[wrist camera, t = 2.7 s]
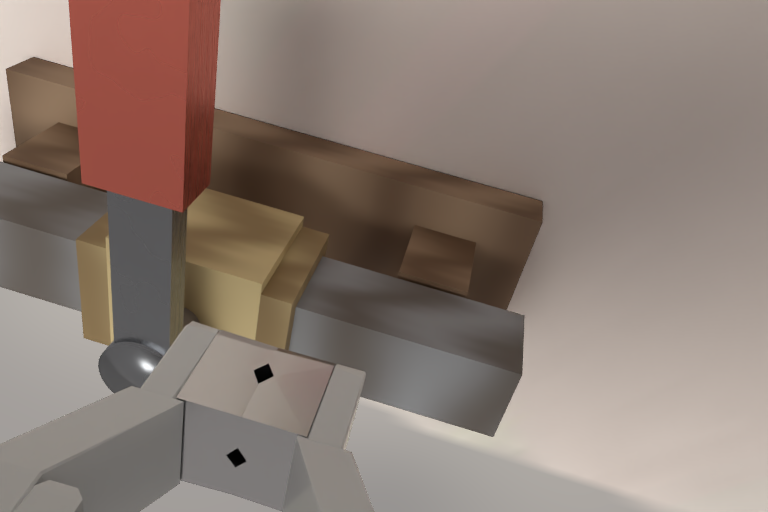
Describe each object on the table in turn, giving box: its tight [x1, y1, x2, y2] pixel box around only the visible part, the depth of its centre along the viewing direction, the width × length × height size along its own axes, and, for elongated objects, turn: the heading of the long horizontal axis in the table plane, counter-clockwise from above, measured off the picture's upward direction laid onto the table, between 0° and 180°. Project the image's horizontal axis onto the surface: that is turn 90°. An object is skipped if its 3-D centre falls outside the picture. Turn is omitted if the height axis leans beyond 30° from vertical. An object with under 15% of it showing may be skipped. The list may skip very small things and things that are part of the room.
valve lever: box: [69, 0, 221, 393], centre depth 20 cm, size 15×3×2 cm, turn 168°
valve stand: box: [0, 57, 543, 437], centre depth 29 cm, size 26×8×12 cm, turn 78°
